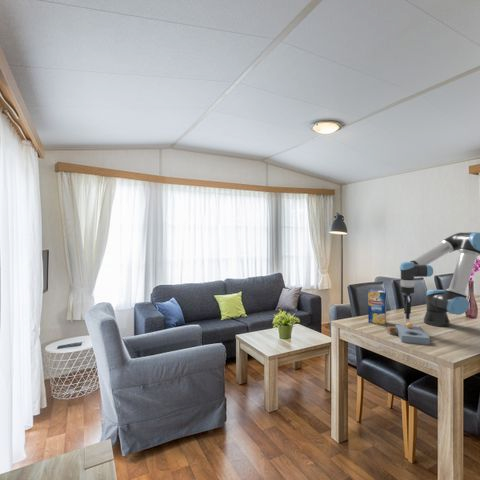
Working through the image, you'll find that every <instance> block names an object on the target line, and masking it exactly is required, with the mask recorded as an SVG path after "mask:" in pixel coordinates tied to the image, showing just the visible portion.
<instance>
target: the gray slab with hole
mask: <svg viewBox="0 0 480 480" xmlns="http://www.w3.org/2000/svg"><path fill="white" fill-rule="evenodd" d="M394 327H396V328H397V336H398V338H399V339H400V342H401V343H410V344H419V345H431V337H430V336H429V335H428V334H427V333H426V332H425V330H424V329H423V328H422V327H421V326H417V325H415V326H414V325H413V327H412V328H408V327H407V326H406V325H404V324H403V325H399V324H395V326H394Z"/></svg>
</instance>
